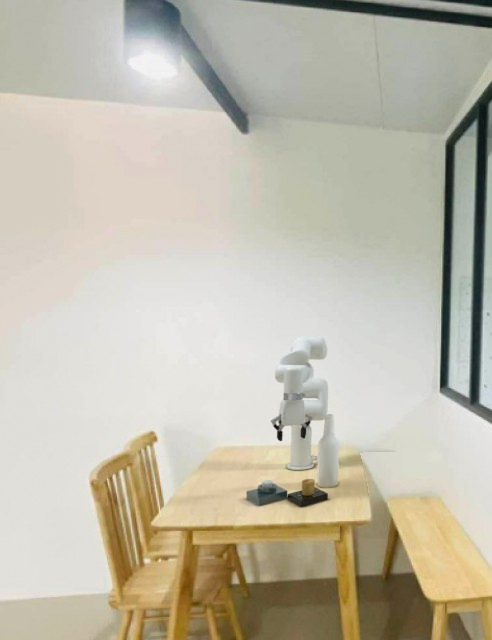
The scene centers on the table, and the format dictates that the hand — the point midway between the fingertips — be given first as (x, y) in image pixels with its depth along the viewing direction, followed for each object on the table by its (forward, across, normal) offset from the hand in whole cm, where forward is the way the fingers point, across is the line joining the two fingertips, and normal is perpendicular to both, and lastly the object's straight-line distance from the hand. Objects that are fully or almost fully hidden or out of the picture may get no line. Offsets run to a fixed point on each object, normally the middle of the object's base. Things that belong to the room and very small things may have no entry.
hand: (291, 439), depth 205 cm
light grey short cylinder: (+18, +9, 0) cm, 20 cm away
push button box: (+22, +9, 0) cm, 24 cm away
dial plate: (+22, -3, +10) cm, 25 cm away
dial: (+20, -3, +10) cm, 23 cm away
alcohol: (+22, -18, -2) cm, 28 cm away
